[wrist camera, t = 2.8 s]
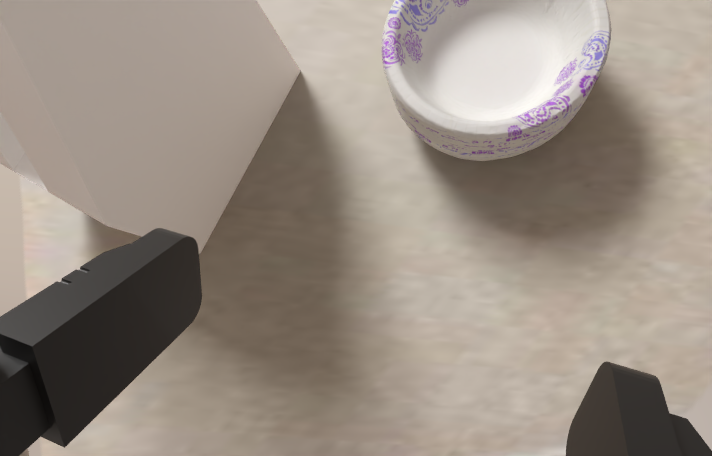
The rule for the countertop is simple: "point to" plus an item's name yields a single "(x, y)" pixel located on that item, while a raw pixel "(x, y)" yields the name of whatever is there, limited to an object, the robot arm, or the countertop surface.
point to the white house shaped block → (139, 104)
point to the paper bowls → (493, 70)
